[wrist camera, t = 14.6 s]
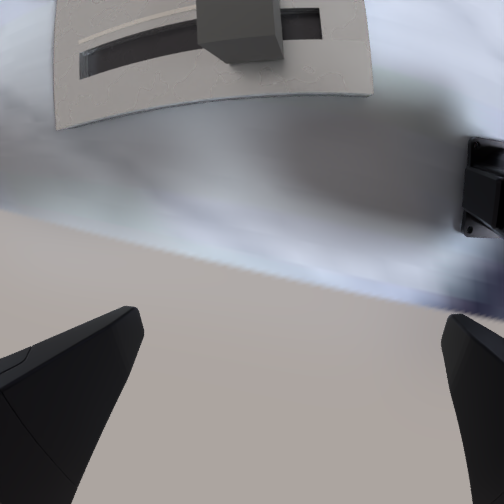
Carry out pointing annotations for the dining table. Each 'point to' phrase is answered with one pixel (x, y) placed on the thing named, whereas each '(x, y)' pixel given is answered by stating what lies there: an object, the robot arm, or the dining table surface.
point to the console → (196, 58)
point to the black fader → (240, 29)
